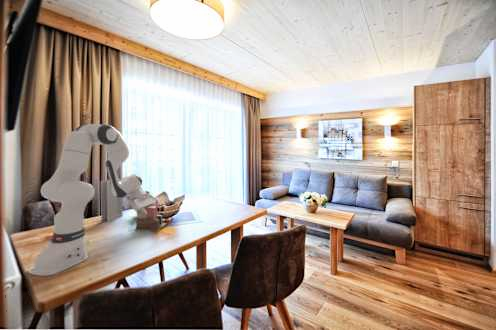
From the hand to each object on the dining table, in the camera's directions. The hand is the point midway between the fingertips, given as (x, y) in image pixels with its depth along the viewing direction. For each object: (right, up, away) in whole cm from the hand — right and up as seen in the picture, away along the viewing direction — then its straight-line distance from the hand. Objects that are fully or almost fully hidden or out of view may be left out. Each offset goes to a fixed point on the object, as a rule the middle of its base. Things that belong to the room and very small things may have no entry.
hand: (151, 211), depth 150 cm
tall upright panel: (-37, -9, +16) cm, 42 cm away
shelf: (0, -11, +1) cm, 11 cm away
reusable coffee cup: (-18, -9, +25) cm, 32 cm away
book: (0, -10, +1) cm, 10 cm away
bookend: (0, -9, +5) cm, 11 cm away
